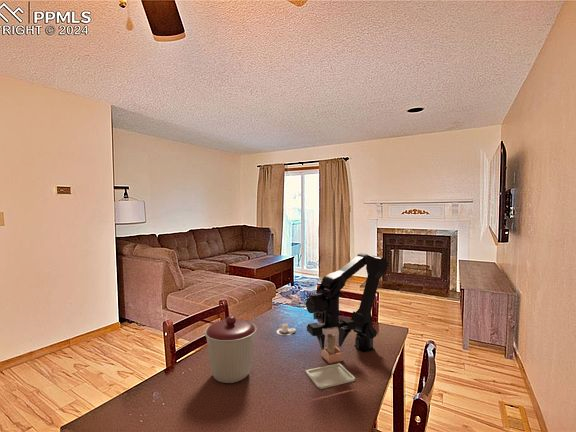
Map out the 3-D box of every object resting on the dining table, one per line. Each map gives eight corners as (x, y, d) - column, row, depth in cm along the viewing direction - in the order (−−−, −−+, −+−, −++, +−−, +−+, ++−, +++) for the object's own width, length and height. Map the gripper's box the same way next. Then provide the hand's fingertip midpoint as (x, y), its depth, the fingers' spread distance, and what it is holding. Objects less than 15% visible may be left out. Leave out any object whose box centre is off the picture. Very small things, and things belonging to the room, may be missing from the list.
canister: (264, 366, 116) (264, 311, 115) (242, 395, 99) (241, 329, 98) (222, 358, 122) (221, 305, 121) (194, 384, 105) (193, 322, 104)
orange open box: (335, 354, 126) (335, 345, 126) (343, 361, 120) (343, 352, 120) (321, 357, 124) (321, 348, 124) (329, 364, 118) (329, 355, 118)
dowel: (332, 355, 124) (332, 333, 123) (336, 359, 121) (336, 336, 120) (325, 357, 123) (326, 334, 122) (329, 360, 120) (329, 337, 119)
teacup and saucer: (297, 332, 149) (297, 323, 148) (289, 338, 142) (289, 329, 142) (282, 328, 153) (282, 319, 153) (273, 333, 147) (273, 325, 146)
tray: (339, 366, 117) (339, 363, 117) (356, 381, 107) (356, 378, 106) (305, 373, 112) (305, 370, 112) (319, 390, 101) (319, 387, 101)
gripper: (341, 299, 132) (341, 336, 132) (301, 305, 125) (301, 343, 126) (356, 308, 121) (356, 347, 122) (313, 314, 115) (313, 355, 115)
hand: (331, 348), depth 122 cm, fingers open, 7 cm apart
